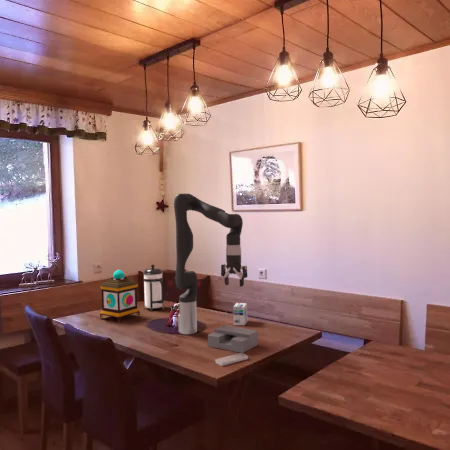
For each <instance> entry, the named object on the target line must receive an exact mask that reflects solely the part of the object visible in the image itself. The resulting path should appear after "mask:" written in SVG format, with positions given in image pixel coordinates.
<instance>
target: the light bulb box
mask: <svg viewBox="0 0 450 450" xmlns="http://www.w3.org/2000/svg"><path fill="white" fill-rule="evenodd" d="M232 310H233V312H232V313H233V326H245V325H246V324H247V323H248V303H245V302H236V303H235V304H234V305H233V309H232Z"/></svg>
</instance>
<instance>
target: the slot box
mask: <svg viewBox="0 0 450 450" xmlns="http://www.w3.org/2000/svg"><path fill="white" fill-rule="evenodd" d="M258 335H259V334H258V330H256V329H255V330H254V329H249V328H242V327H237V326H236V327H235V326H231V325H220V326H219V327H216V328H214V331H213V332H211V333H209V334H207V346H208V347H211V348H215V349H222V350H225V351H231V352H236V353H243V354H245V353H247V352H248V351H250V350H251V349H253V348H255V347H257V346H258V344H259V343H258V341H259V340H258V339H259V337H258Z"/></svg>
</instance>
